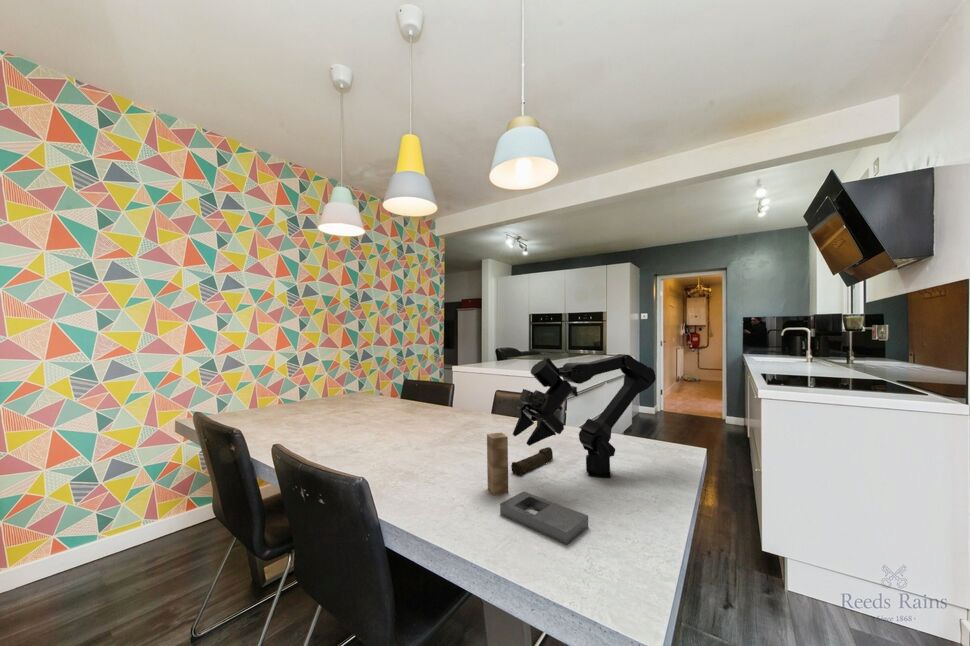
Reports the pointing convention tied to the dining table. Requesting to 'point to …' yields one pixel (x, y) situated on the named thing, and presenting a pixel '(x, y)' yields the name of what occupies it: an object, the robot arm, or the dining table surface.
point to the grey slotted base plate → (545, 517)
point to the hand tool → (532, 461)
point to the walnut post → (497, 463)
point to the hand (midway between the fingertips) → (520, 439)
